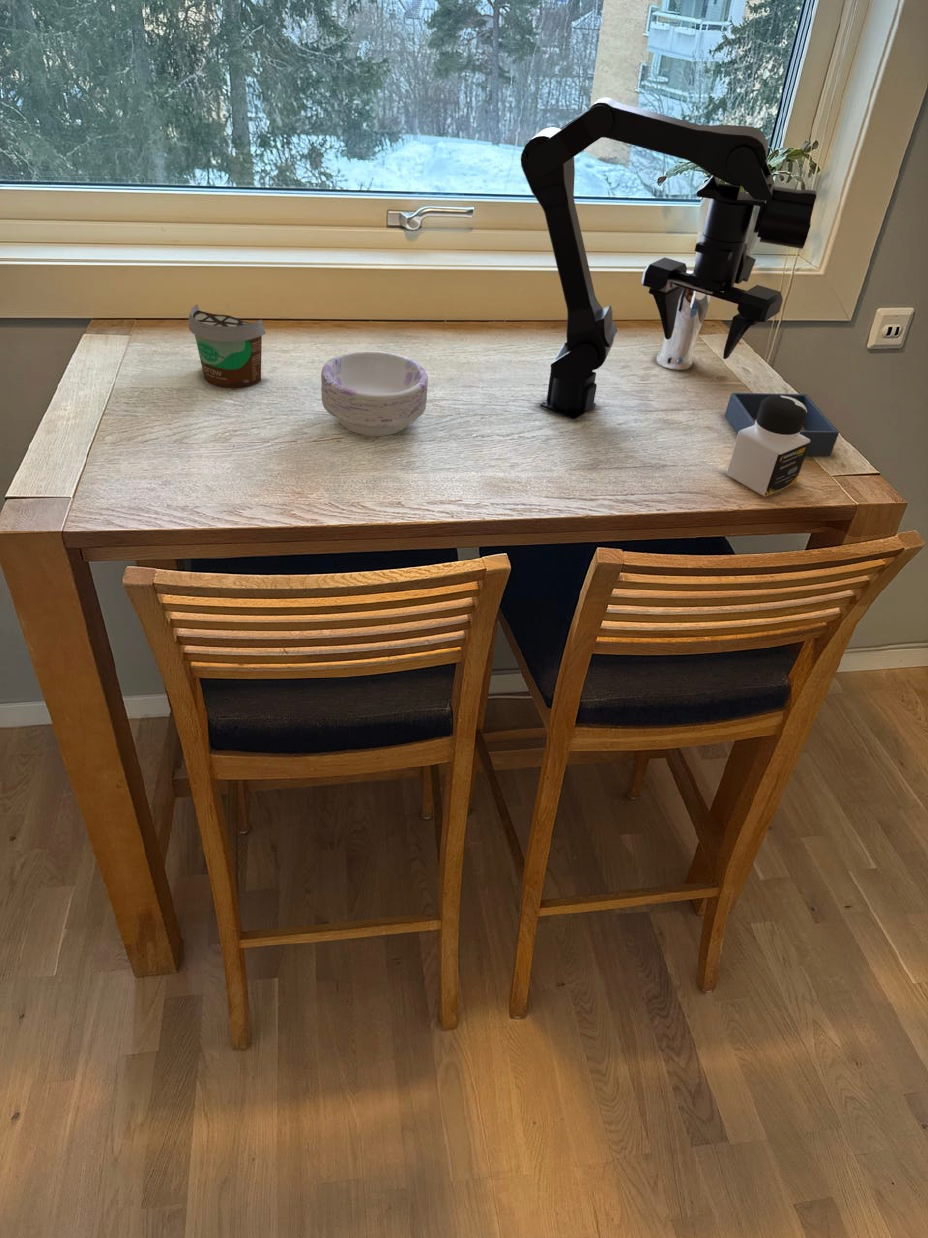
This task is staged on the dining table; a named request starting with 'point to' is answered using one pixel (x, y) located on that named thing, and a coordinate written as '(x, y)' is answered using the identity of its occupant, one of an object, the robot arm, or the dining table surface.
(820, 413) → the caddy
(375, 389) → the paper bowls
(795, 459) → the medicine bottle
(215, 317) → the food container
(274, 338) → the dining table surface
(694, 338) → the silver tumbler
